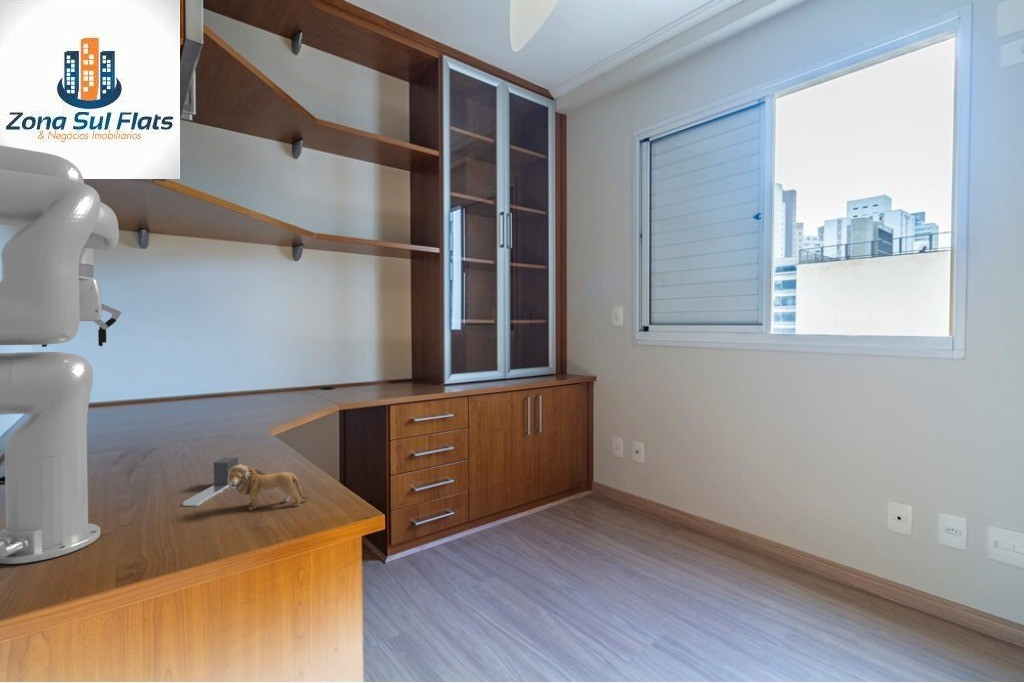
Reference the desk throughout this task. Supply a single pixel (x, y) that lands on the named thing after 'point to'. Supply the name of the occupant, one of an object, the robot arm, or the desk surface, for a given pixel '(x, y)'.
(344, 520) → the desk surface
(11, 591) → the desk surface
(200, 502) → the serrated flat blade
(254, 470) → the lion figurine
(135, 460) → the desk surface
